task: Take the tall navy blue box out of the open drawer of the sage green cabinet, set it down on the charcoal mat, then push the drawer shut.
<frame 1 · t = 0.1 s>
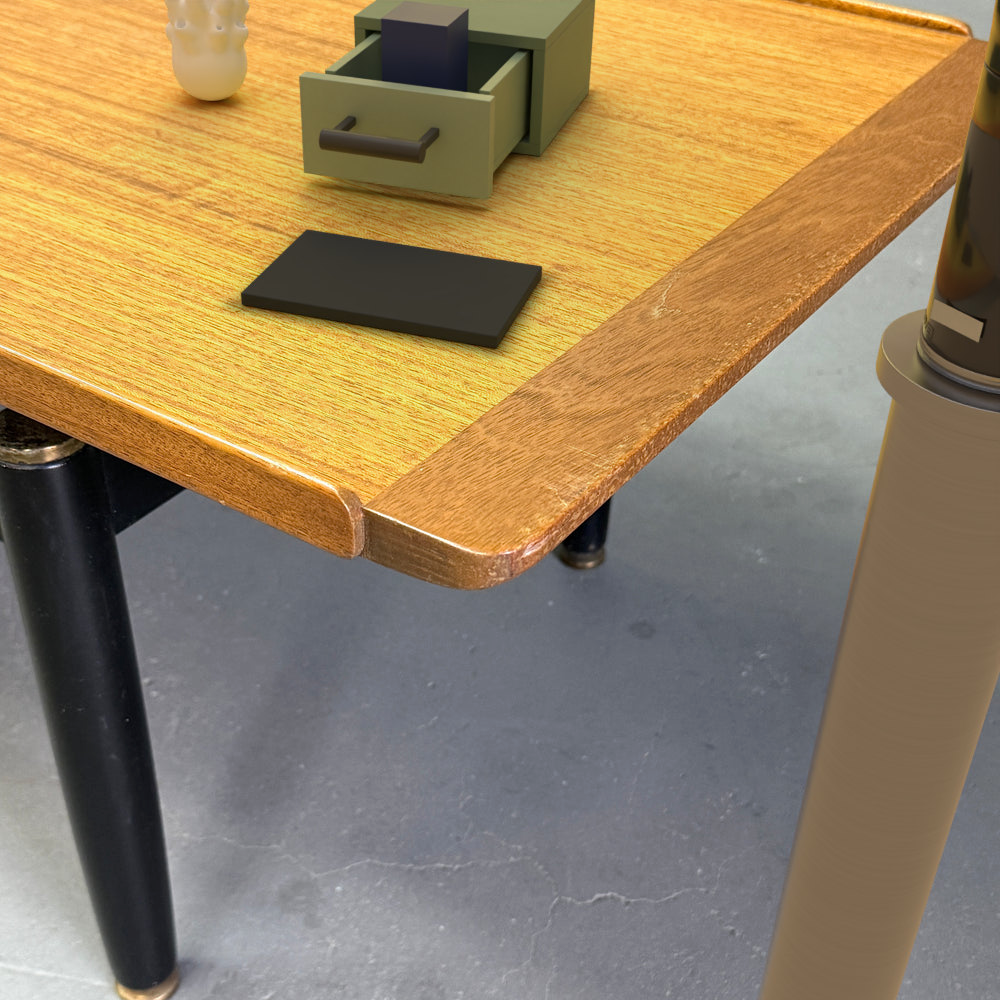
navy box: (425, 139, 101), point 2 cm above the table, touching drawer
figurine: (214, 99, 113), on the table
mat: (395, 290, 85), on the table
drawer: (417, 115, 99), point 4 cm above the table, slide at 10.5 cm, touching navy box
cabinet: (477, 111, 113), on the table
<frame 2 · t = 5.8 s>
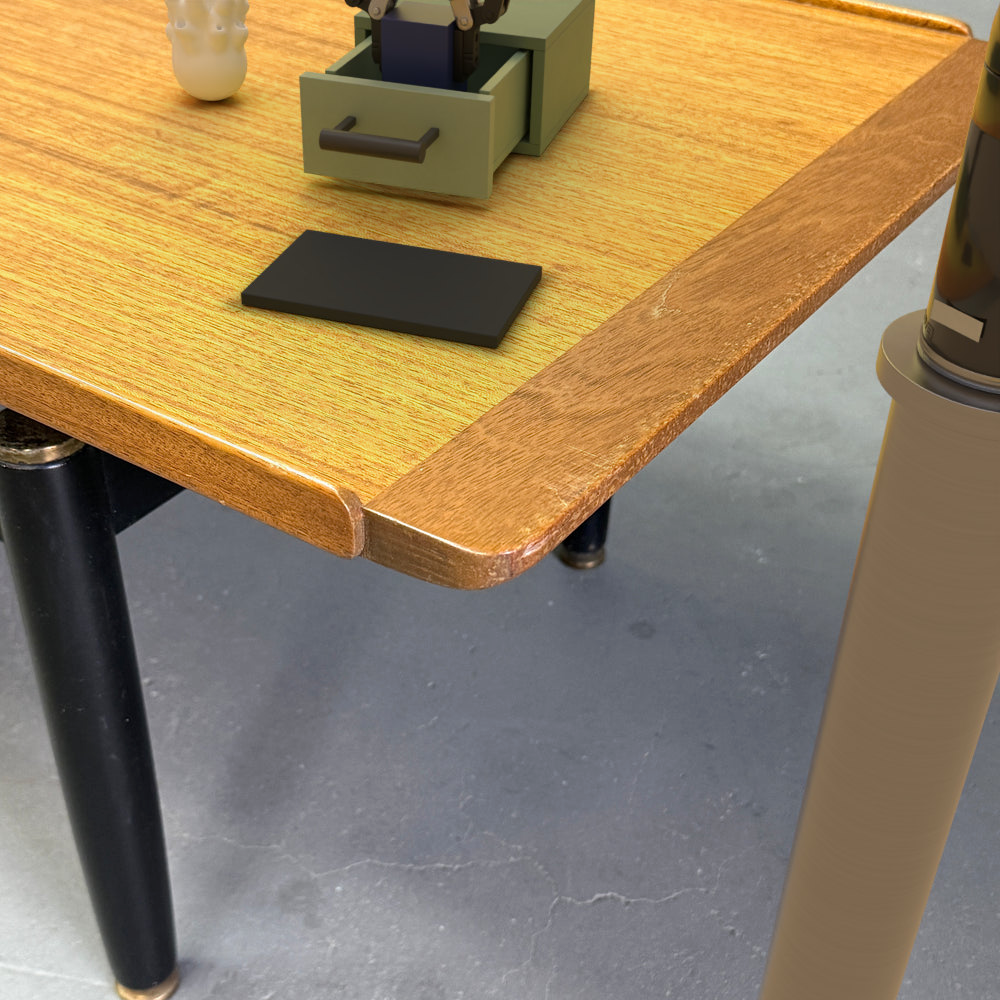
hand: (425, 73, 99), 7 cm above the table, tool pointing down, fingers closed on navy box, 4 cm apart
navy box: (425, 139, 101), point 2 cm above the table, touching drawer, gripper
everything else where it was.
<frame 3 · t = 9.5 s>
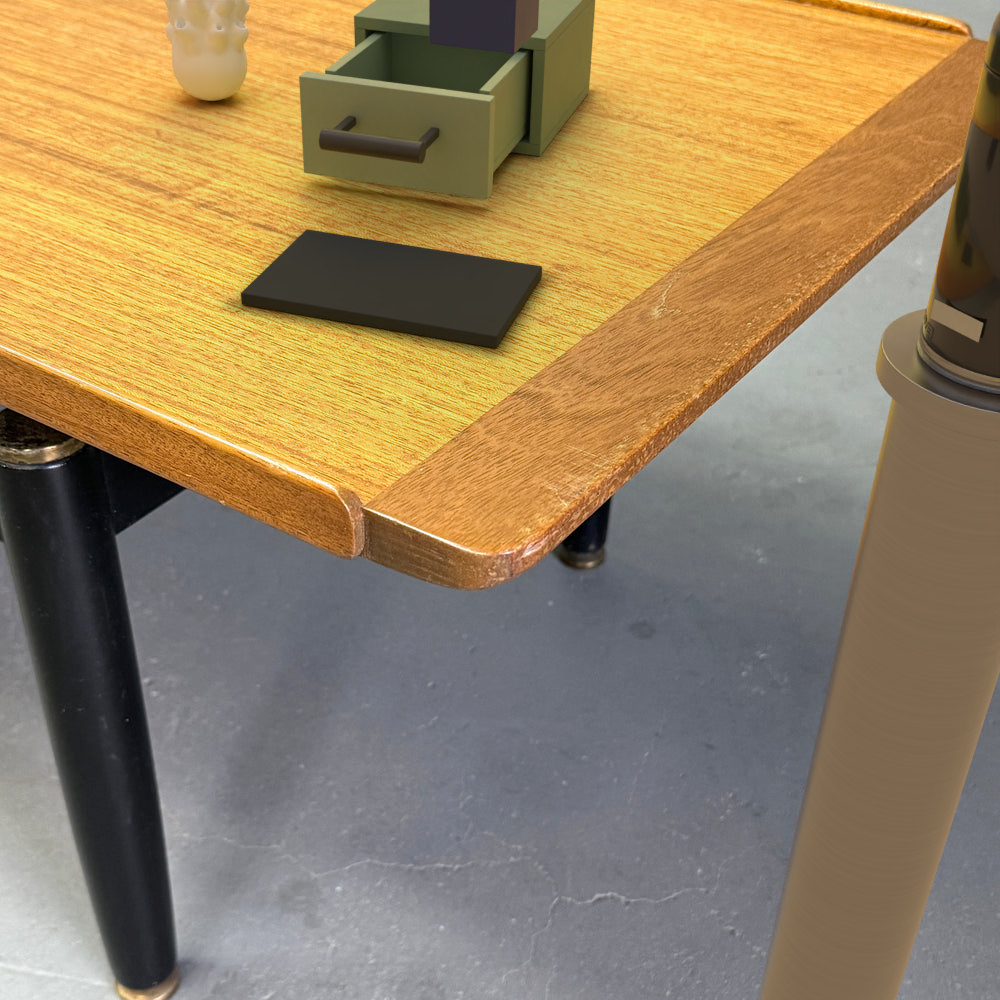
navy box: (484, 36, 76), point 16 cm above the table, touching gripper
drawer: (417, 115, 99), point 4 cm above the table, slide at 10.5 cm
everything else where it was.
when the fingers open (6 cm above the table, at t = 13.4 s): navy box stays where it is, resting on mat.
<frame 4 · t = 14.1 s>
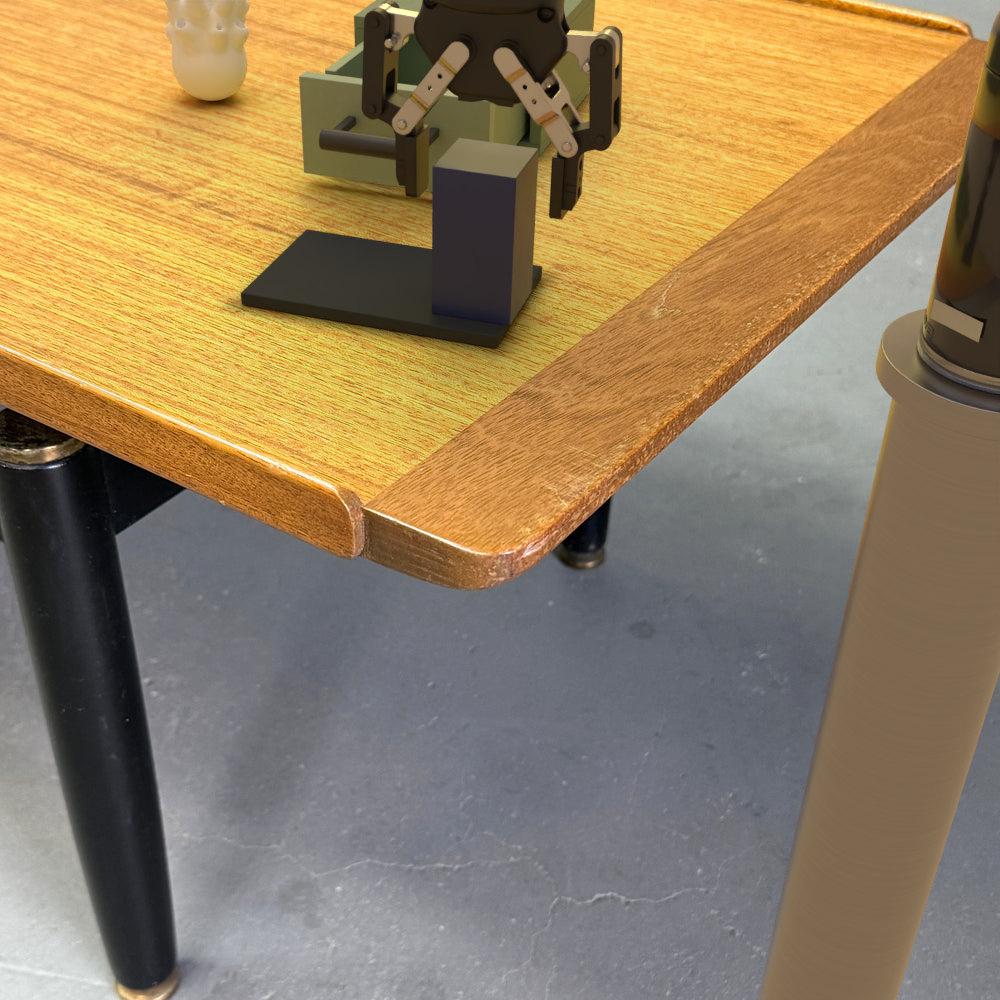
hand: (487, 203, 80), 7 cm above the table, tool pointing down, fingers open, 8 cm apart
navy box: (482, 302, 83), point 1 cm above the table, touching mat
everything else where it was.
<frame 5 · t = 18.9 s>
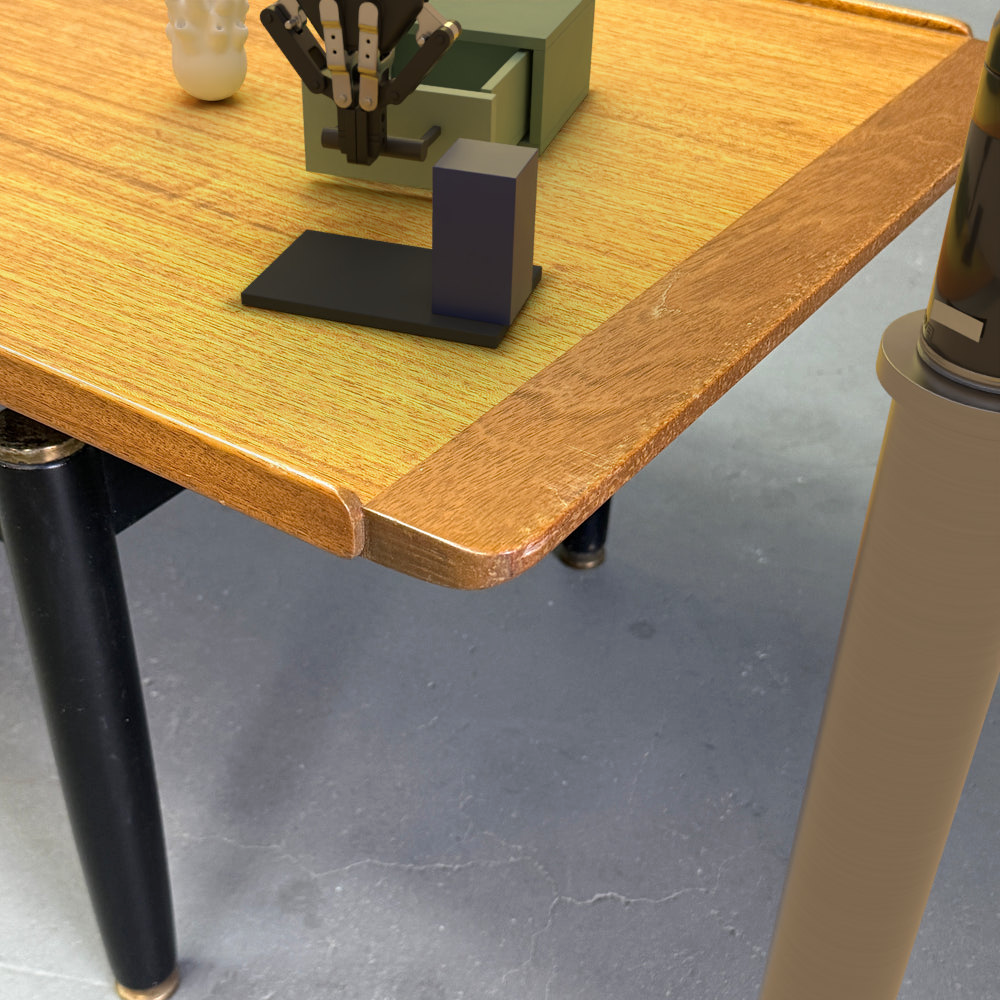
hand: (363, 160, 90), 5 cm above the table, tool pointing down, fingers closed
drawer: (419, 113, 99), point 4 cm above the table, slide at 10.1 cm, touching gripper
everything else where it was.
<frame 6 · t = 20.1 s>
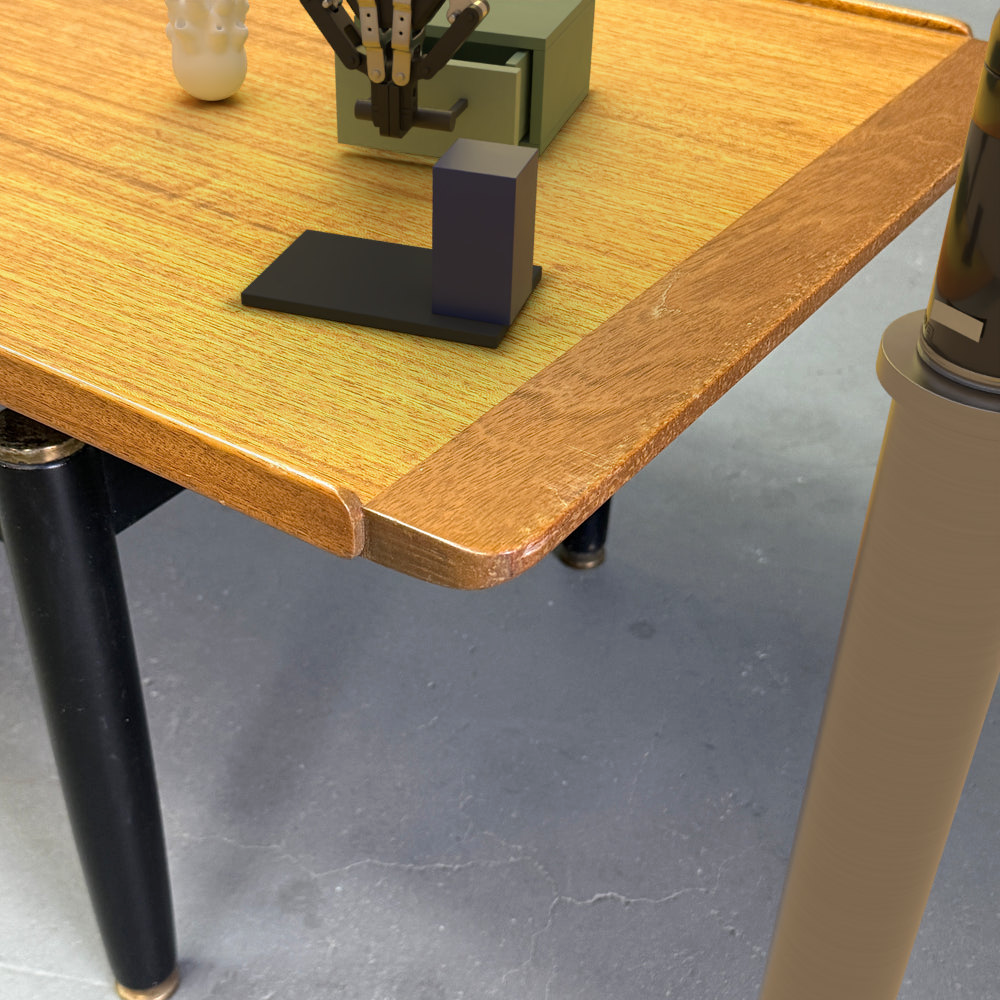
hand: (395, 133, 95), 5 cm above the table, tool pointing down, fingers closed
drawer: (445, 88, 104), point 4 cm above the table, slide at 4.2 cm, touching gripper
everything else where it was.
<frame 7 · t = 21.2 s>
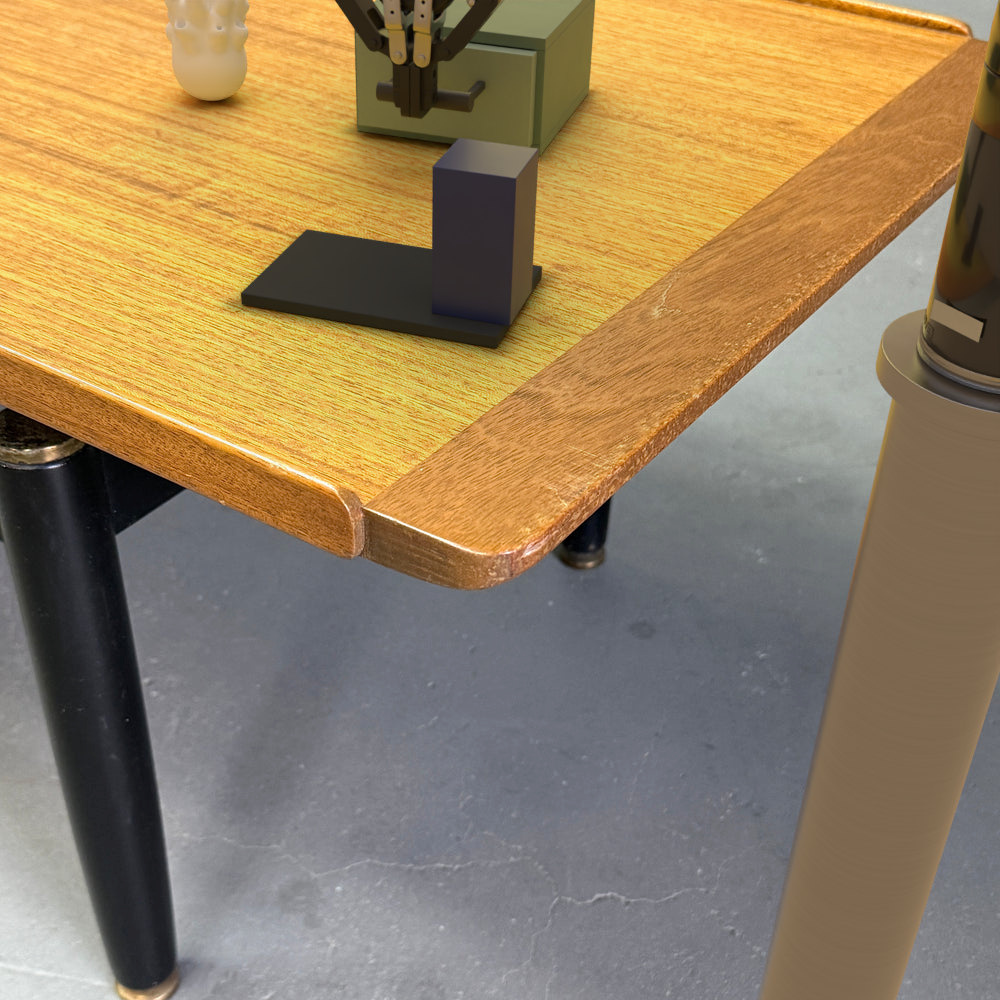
hand: (415, 114, 98), 5 cm above the table, tool pointing down, fingers closed
drawer: (462, 72, 107), point 4 cm above the table, slide at 0.0 cm, touching cabinet, gripper
everything else where it was.
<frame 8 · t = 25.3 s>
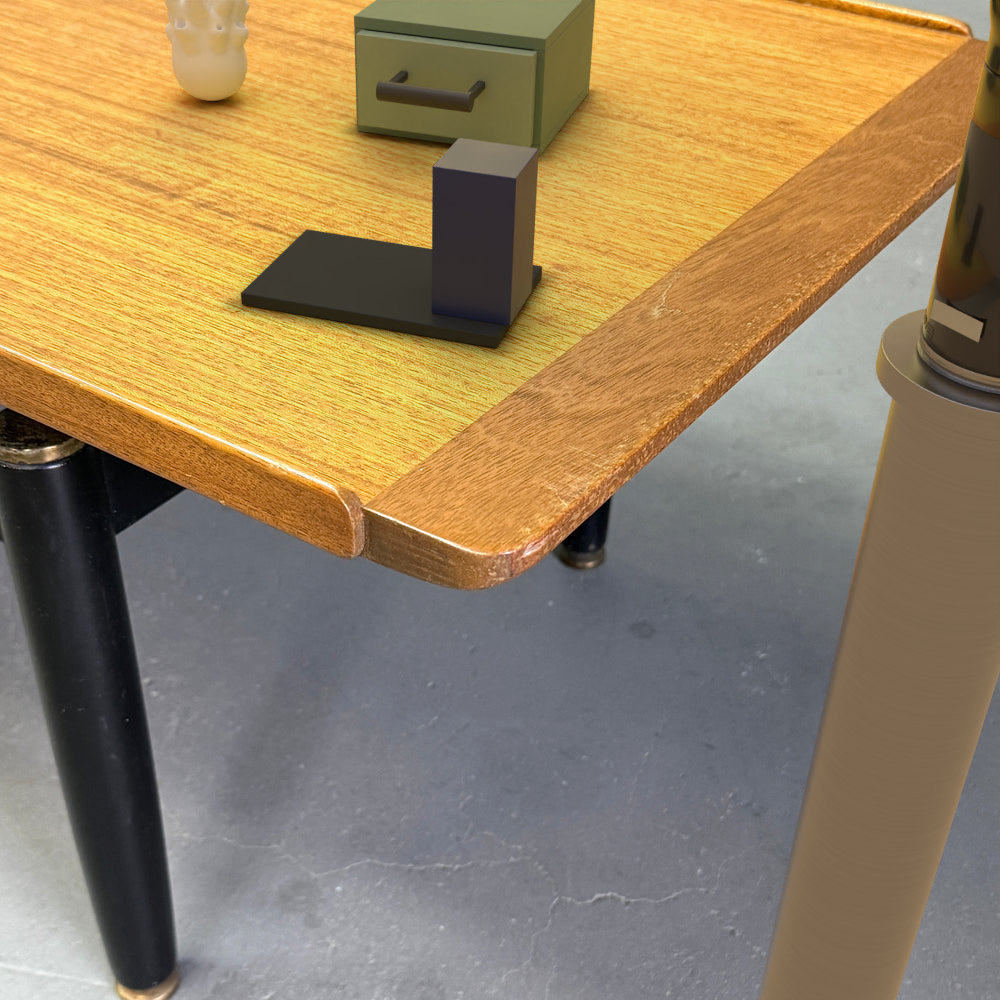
drawer: (462, 72, 107), point 4 cm above the table, slide at 0.0 cm
everything else where it was.
at the end: navy box inside the target area on the mat (6.0 cm from its centre), point 0.8 cm above the mat's base; navy box tilted 0°; drawer slide at 0.0 cm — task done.
